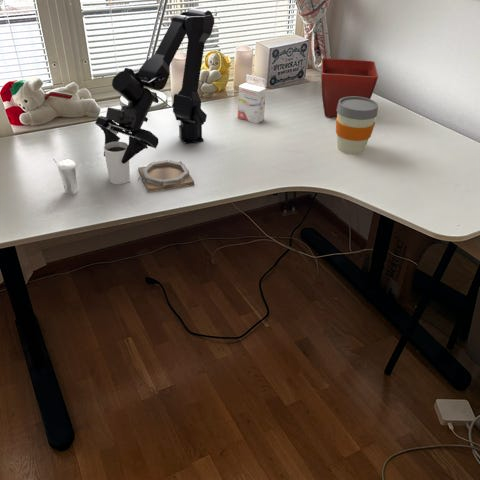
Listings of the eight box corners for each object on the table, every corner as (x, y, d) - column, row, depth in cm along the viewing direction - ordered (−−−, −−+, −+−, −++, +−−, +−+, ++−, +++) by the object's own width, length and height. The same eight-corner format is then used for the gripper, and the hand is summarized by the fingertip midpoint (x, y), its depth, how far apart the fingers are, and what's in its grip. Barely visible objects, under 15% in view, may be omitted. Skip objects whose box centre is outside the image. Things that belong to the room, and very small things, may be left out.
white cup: (110, 186, 144) (106, 153, 138) (105, 175, 149) (101, 143, 143) (134, 182, 146) (131, 150, 140) (128, 171, 151) (125, 140, 145)
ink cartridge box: (236, 118, 186) (238, 77, 178) (244, 114, 190) (245, 73, 181) (257, 124, 183) (259, 82, 174) (264, 119, 186) (267, 78, 178)
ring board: (181, 164, 156) (181, 157, 155) (194, 184, 146) (194, 177, 145) (138, 170, 152) (137, 163, 151) (148, 192, 142) (148, 184, 141)
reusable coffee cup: (378, 148, 169) (386, 103, 160) (356, 160, 162) (365, 114, 153) (345, 136, 176) (352, 93, 167) (323, 147, 168) (329, 102, 160)
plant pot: (316, 101, 203) (322, 57, 193) (366, 105, 201) (374, 60, 191) (315, 120, 187) (321, 73, 177) (369, 124, 185) (378, 77, 176)
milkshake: (61, 188, 142) (55, 154, 137) (81, 187, 143) (75, 154, 137) (58, 196, 139) (51, 162, 133) (78, 196, 139) (72, 162, 133)
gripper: (95, 87, 141) (70, 139, 139) (148, 102, 133) (122, 157, 131) (118, 106, 151) (95, 155, 149) (169, 121, 143) (145, 173, 141)
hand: (113, 159), depth 143 cm, fingers closed on white cup, 6 cm apart
